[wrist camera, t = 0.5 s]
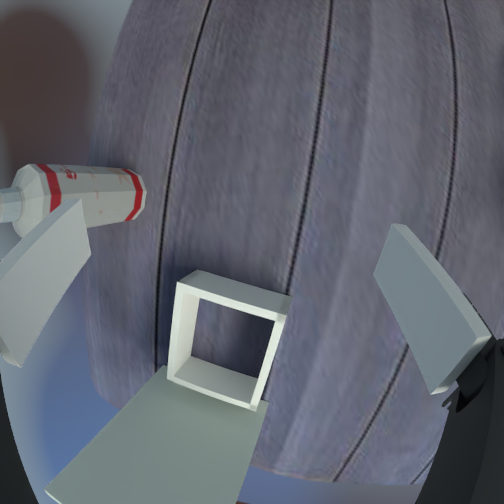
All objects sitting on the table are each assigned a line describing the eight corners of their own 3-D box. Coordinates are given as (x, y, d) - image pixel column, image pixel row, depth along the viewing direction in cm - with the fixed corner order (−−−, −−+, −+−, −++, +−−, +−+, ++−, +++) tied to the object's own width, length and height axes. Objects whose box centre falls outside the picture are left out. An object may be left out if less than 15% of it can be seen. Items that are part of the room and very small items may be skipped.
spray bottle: (109, 223, 41) (-35, 255, 17) (104, 176, 39) (-41, 180, 15) (149, 217, 39) (-10, 249, 15) (144, 165, 38) (-16, 155, 14)
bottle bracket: (174, 262, 39) (-23, 363, 10) (303, 299, 36) (245, 534, 7) (163, 371, 44) (47, 494, 15) (266, 408, 41) (204, 577, 12)
